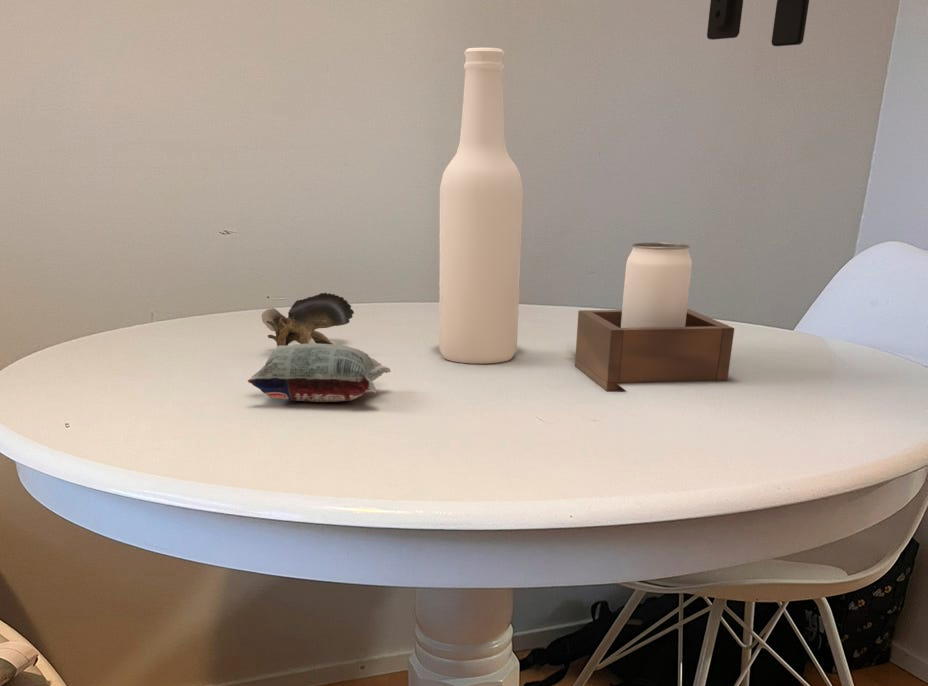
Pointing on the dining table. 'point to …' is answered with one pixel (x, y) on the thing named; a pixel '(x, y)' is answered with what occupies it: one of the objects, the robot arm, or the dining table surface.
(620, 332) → the box
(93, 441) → the dining table surface
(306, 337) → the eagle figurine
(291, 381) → the packaged food
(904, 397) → the dining table surface
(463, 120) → the alcohol
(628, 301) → the can
